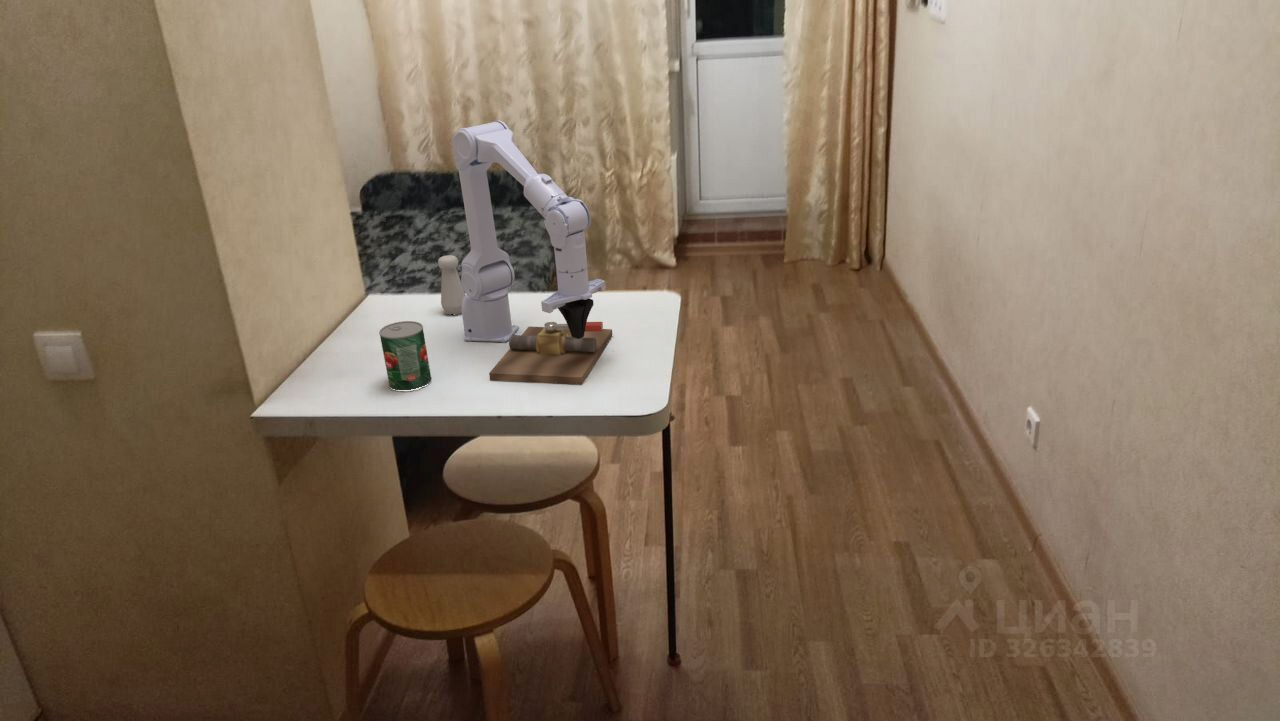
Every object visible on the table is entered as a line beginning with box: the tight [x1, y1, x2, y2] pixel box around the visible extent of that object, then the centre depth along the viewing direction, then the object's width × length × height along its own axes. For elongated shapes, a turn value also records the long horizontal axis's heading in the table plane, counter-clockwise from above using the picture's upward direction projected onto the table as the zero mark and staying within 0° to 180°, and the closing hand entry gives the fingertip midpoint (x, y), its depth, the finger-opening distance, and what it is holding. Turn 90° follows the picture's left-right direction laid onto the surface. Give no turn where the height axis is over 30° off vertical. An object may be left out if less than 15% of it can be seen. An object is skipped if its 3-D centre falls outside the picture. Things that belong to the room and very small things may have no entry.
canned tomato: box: [379, 320, 433, 390], centre depth 172 cm, size 8×8×11 cm
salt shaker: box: [437, 254, 466, 316], centre depth 205 cm, size 6×6×13 cm
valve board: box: [488, 326, 613, 386], centre depth 180 cm, size 18×23×6 cm
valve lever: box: [544, 321, 604, 332], centre depth 178 cm, size 2×11×1 cm, turn 84°
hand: (577, 336), depth 174 cm, fingers closed
